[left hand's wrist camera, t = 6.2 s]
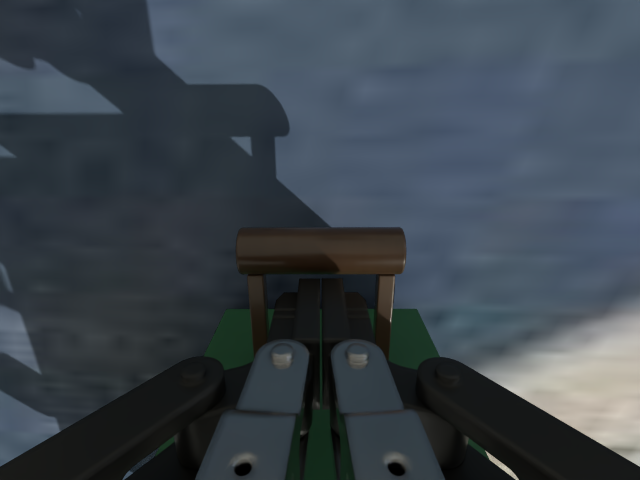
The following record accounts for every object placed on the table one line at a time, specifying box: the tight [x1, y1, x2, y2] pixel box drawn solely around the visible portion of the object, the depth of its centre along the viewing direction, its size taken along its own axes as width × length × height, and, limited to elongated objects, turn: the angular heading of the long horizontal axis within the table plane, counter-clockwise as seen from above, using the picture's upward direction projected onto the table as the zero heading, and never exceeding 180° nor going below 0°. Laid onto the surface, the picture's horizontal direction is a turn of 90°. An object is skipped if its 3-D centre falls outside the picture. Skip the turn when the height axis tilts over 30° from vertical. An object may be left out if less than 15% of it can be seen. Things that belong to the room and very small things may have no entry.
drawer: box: [155, 227, 489, 480], centre depth 15 cm, size 22×10×10 cm, turn 0°
